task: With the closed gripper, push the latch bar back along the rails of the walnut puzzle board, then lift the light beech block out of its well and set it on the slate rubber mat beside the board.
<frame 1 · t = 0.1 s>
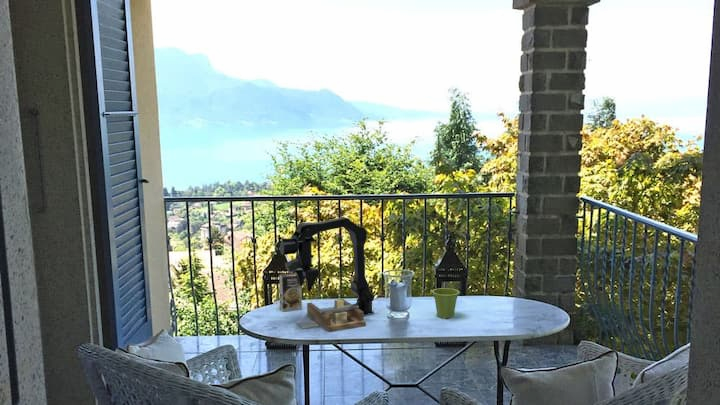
hand: (305, 288, 252), 15 cm above the table, tool pointing down, fingers open, 9 cm apart
puzzle board: (339, 322, 252), on the table
latch bar: (339, 305, 251), point 8 cm above the table, slide at 0.0 cm
coffee box: (290, 309, 272), on the table
plant pot: (445, 316, 261), on the table
beech block: (339, 323, 252), resting in puzzle board
slate mat: (308, 325, 249), on the table
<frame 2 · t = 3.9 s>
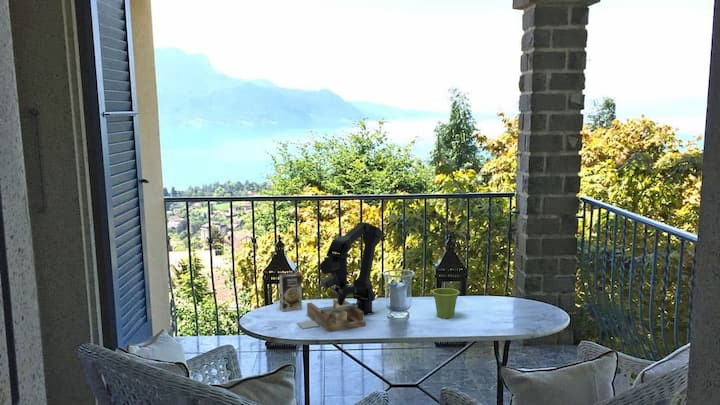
hand: (340, 305, 249), 8 cm above the table, tool pointing down, fingers closed
latch bar: (337, 304, 252), point 8 cm above the table, slide at 1.3 cm, touching gripper
everything else where it was.
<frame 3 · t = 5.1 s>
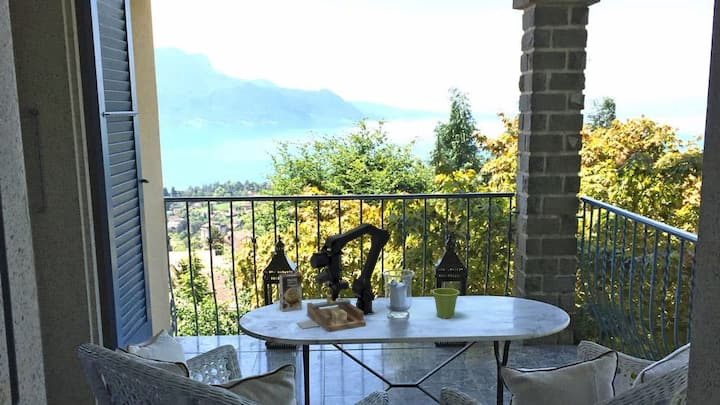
hand: (334, 300, 256), 8 cm above the table, tool pointing down, fingers closed
latch bar: (331, 300, 258), point 8 cm above the table, slide at 8.2 cm, touching gripper
everything else where it was.
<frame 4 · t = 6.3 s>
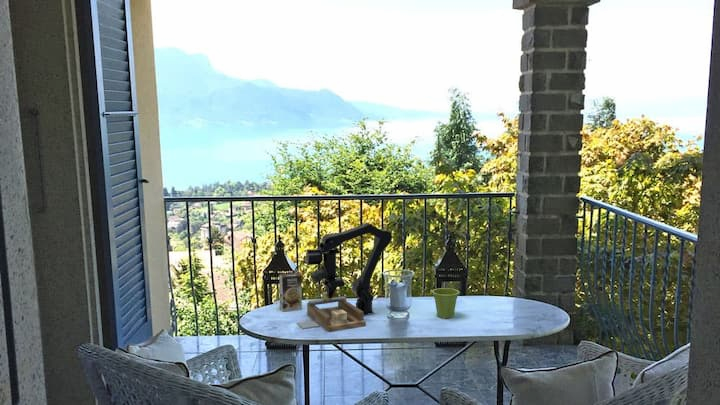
hand: (329, 298, 260), 8 cm above the table, tool pointing down, fingers closed
latch bar: (327, 297, 262), point 8 cm above the table, slide at 12.7 cm, touching gripper
everything else where it was.
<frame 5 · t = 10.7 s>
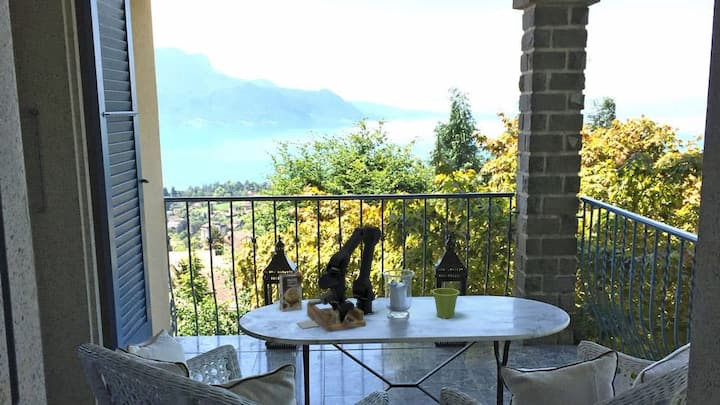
hand: (339, 320, 252), 1 cm above the table, tool pointing down, fingers closed on beech block, 5 cm apart
latch bar: (327, 297, 262), point 8 cm above the table, slide at 12.9 cm
beech block: (339, 322, 252), resting in puzzle board, touching gripper
everything else where it was.
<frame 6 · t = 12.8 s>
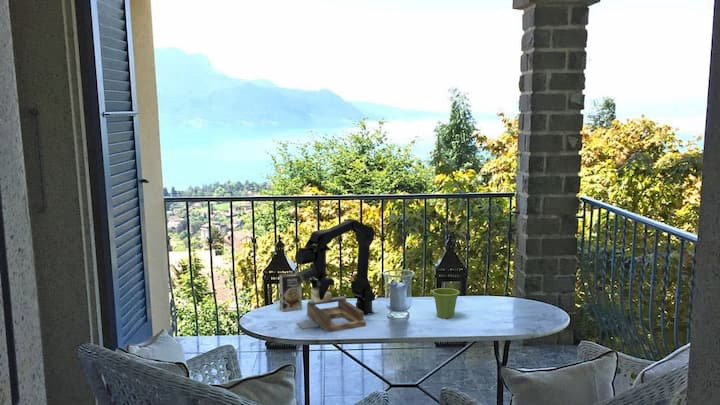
hand: (318, 298, 248), 12 cm above the table, tool pointing down, fingers closed on beech block, 5 cm apart
beech block: (318, 300, 248), point 11 cm above the table, touching gripper
everything else where it was.
when the fingers open (2 cm above the table, at t = 15.1 s): beech block drops 1 cm, resting on slate mat.
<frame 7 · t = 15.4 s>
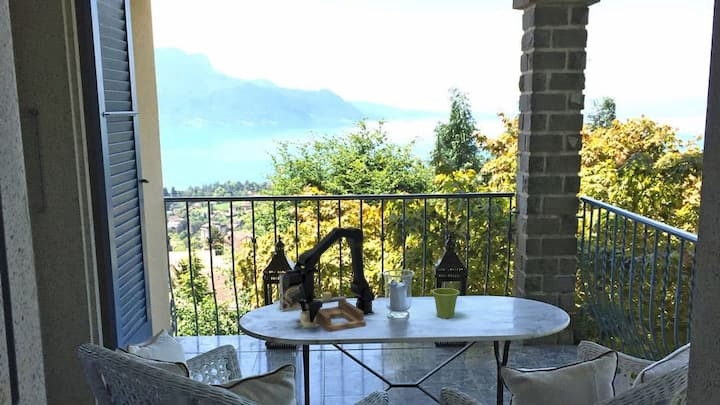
hand: (308, 319, 249), 2 cm above the table, tool pointing down, fingers open, 8 cm apart
beech block: (308, 324, 249), resting on slate mat
everything else where it was.
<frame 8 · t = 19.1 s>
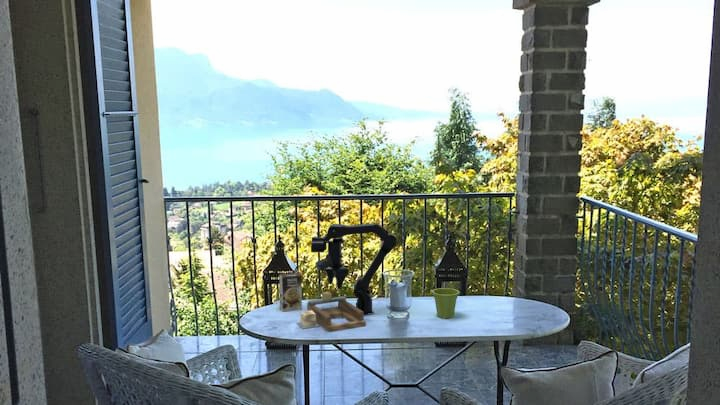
hand: (334, 286, 265), 12 cm above the table, tool pointing down, fingers open, 9 cm apart
nothing on the table moved.
at the end: latch bar slide at 12.9 cm; beech block inside the target area (0.0 cm from its centre), resting on slate mat; beech block tilted 0° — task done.
